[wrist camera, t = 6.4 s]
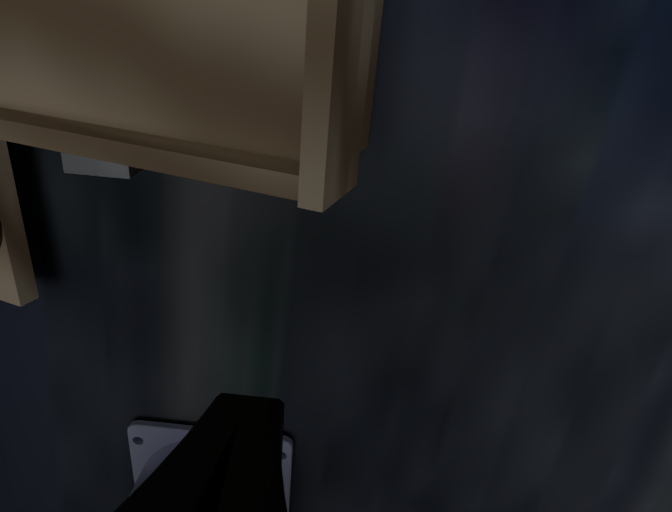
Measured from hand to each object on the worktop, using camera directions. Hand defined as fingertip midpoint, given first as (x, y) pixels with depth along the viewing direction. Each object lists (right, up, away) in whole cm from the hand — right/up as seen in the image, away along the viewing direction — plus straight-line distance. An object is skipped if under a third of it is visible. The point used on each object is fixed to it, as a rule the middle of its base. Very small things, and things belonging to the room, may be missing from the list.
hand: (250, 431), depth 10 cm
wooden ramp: (-4, +8, +7) cm, 12 cm away
